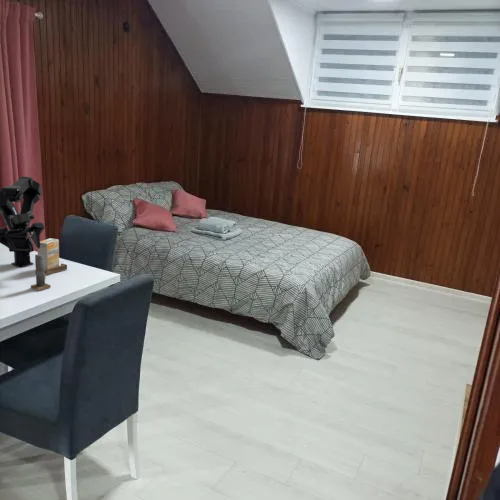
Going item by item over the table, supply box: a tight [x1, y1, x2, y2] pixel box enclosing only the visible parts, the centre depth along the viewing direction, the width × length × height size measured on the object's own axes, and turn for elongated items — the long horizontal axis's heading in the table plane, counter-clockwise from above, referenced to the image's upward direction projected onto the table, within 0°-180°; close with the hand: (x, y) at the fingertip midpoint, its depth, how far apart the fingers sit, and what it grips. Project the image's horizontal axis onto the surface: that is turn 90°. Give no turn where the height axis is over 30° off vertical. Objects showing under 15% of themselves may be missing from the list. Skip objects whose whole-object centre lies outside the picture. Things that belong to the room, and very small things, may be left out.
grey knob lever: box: [30, 253, 68, 292], centre depth 188 cm, size 16×22×13 cm
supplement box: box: [37, 237, 60, 269], centre depth 198 cm, size 8×5×13 cm, turn 167°
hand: (28, 250), depth 181 cm, fingers open, 9 cm apart
